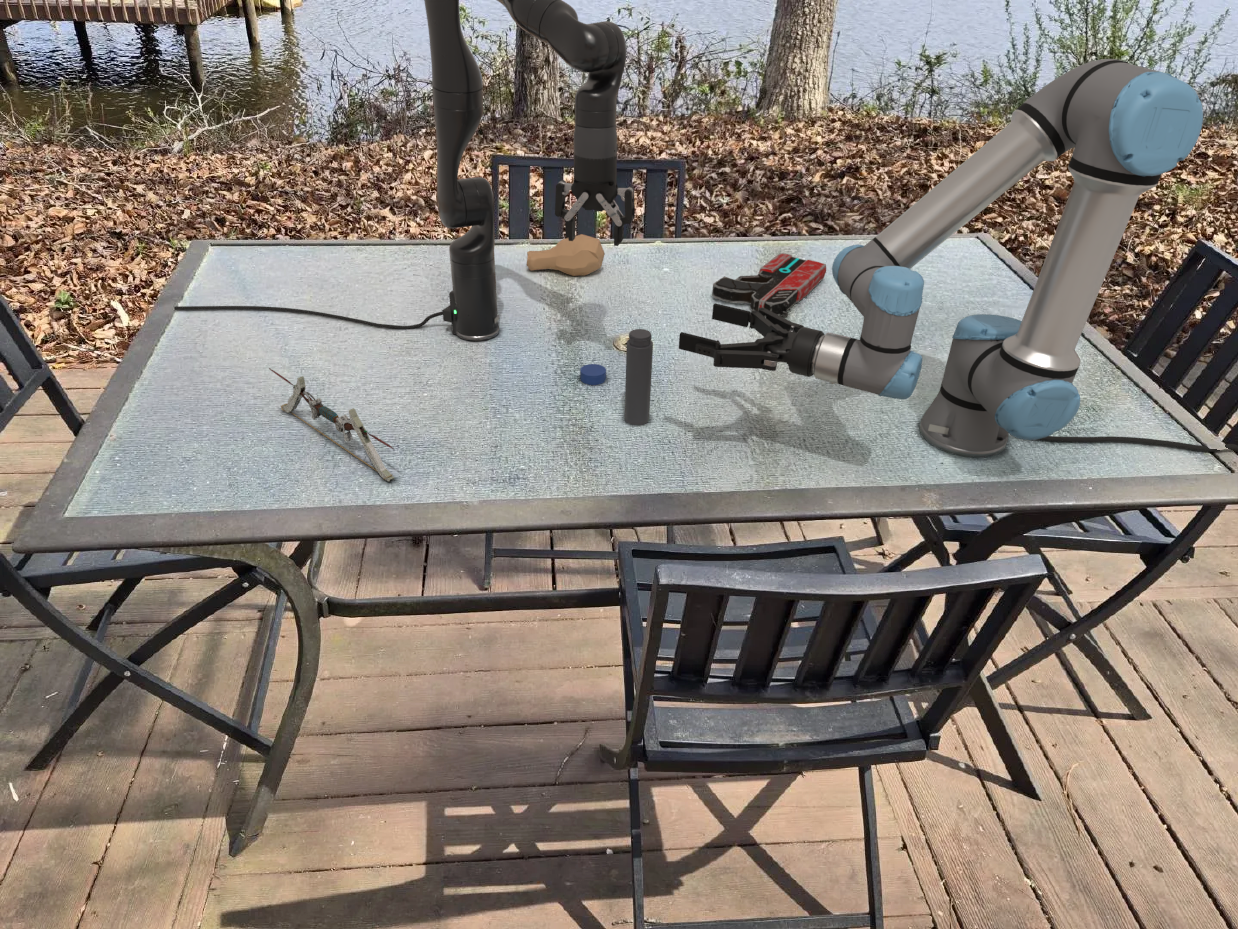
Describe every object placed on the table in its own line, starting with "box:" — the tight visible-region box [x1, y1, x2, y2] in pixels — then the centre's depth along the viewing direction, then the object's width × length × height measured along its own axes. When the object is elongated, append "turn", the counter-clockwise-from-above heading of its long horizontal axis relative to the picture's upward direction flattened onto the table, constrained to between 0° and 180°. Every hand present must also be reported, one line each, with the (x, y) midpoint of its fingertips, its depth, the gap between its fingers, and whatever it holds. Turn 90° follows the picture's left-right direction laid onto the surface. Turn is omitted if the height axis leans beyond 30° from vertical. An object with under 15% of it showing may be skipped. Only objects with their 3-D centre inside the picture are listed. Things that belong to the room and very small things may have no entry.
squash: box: [526, 233, 606, 277], centre depth 222 cm, size 11×20×9 cm, turn 90°
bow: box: [269, 367, 396, 483], centre depth 151 cm, size 39×2×10 cm, turn 47°
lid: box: [579, 363, 607, 386], centre depth 176 cm, size 5×5×2 cm
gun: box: [711, 252, 827, 318], centre depth 215 cm, size 4×31×19 cm
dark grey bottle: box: [623, 328, 654, 426], centre depth 159 cm, size 5×5×18 cm
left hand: (594, 242), depth 160 cm, fingers open, 8 cm apart
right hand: (697, 325), depth 147 cm, fingers open, 13 cm apart
